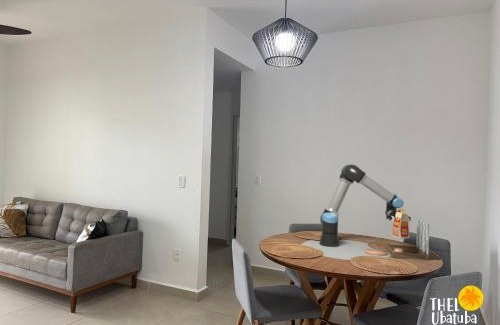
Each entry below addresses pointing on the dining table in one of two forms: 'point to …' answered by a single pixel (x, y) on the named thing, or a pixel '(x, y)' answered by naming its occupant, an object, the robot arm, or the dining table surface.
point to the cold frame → (420, 247)
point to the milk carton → (400, 225)
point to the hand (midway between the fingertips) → (401, 219)
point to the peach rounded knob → (397, 250)
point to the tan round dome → (375, 252)
